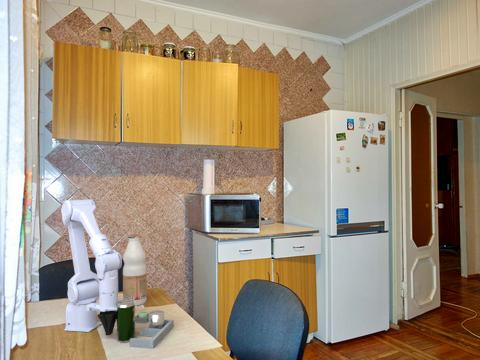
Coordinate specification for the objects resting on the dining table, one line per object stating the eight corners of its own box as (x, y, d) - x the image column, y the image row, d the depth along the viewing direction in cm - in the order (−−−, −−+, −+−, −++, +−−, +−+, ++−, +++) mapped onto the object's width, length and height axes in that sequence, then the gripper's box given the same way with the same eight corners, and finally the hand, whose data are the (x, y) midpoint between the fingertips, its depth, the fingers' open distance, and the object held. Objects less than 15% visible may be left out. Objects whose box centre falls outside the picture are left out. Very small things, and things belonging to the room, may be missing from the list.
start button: (137, 319, 131) (137, 314, 131) (141, 316, 134) (141, 311, 134) (145, 320, 130) (145, 315, 130) (148, 317, 133) (148, 312, 133)
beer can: (119, 345, 112) (119, 305, 112) (115, 339, 116) (114, 301, 116) (137, 340, 115) (136, 302, 115) (132, 334, 119) (131, 297, 119)
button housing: (133, 322, 130) (133, 317, 130) (139, 317, 135) (139, 313, 135) (146, 323, 129) (146, 318, 129) (152, 318, 134) (152, 313, 134)
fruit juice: (123, 307, 146) (122, 237, 146) (122, 300, 155) (121, 234, 155) (147, 304, 149) (147, 235, 149) (145, 298, 158) (144, 233, 158)
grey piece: (129, 346, 110) (129, 339, 110) (152, 325, 127) (152, 318, 127) (153, 348, 109) (153, 340, 109) (173, 326, 126) (173, 320, 126)
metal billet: (146, 333, 120) (146, 315, 120) (152, 327, 125) (152, 310, 125) (160, 334, 119) (160, 316, 119) (166, 328, 124) (166, 310, 124)
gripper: (80, 294, 114) (81, 338, 114) (123, 295, 111) (124, 340, 111) (93, 287, 121) (94, 329, 121) (134, 289, 118) (135, 331, 118)
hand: (109, 334), depth 116 cm, fingers closed
